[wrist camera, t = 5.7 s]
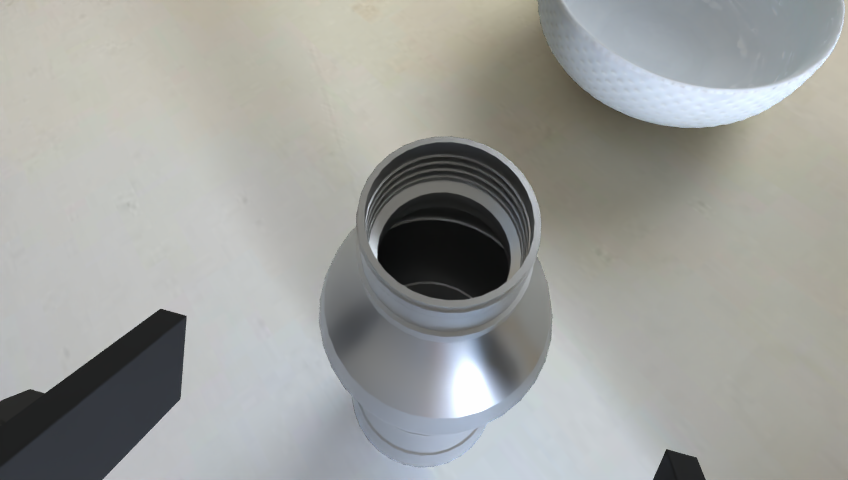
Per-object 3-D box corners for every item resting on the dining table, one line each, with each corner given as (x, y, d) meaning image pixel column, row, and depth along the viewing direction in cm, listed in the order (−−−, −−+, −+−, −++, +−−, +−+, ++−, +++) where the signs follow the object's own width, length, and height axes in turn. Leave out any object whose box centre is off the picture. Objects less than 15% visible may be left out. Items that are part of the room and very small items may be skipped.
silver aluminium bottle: (472, 326, 31) (569, 61, 13) (497, 461, 28) (665, 367, 10) (350, 341, 30) (271, 89, 12) (363, 482, 28) (286, 421, 10)
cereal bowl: (828, 120, 37) (915, 39, 31) (599, 202, 34) (644, 131, 28) (684, -55, 44) (732, -152, 38) (481, 1, 41) (495, -94, 35)
